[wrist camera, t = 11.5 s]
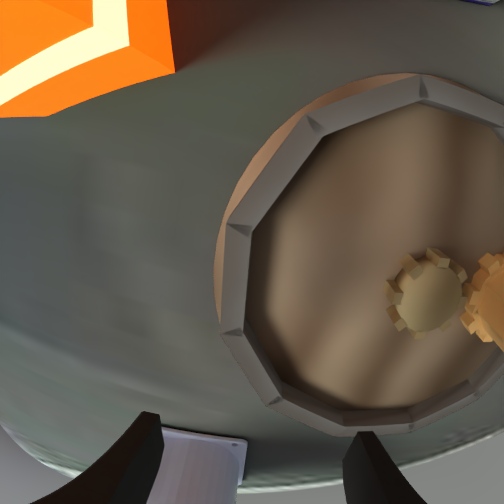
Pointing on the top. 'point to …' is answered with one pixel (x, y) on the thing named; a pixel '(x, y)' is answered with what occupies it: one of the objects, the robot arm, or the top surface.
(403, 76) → the wooden tray
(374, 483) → the robot arm
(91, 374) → the top surface
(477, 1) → the supplement box
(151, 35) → the orange juice
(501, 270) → the planet gear
